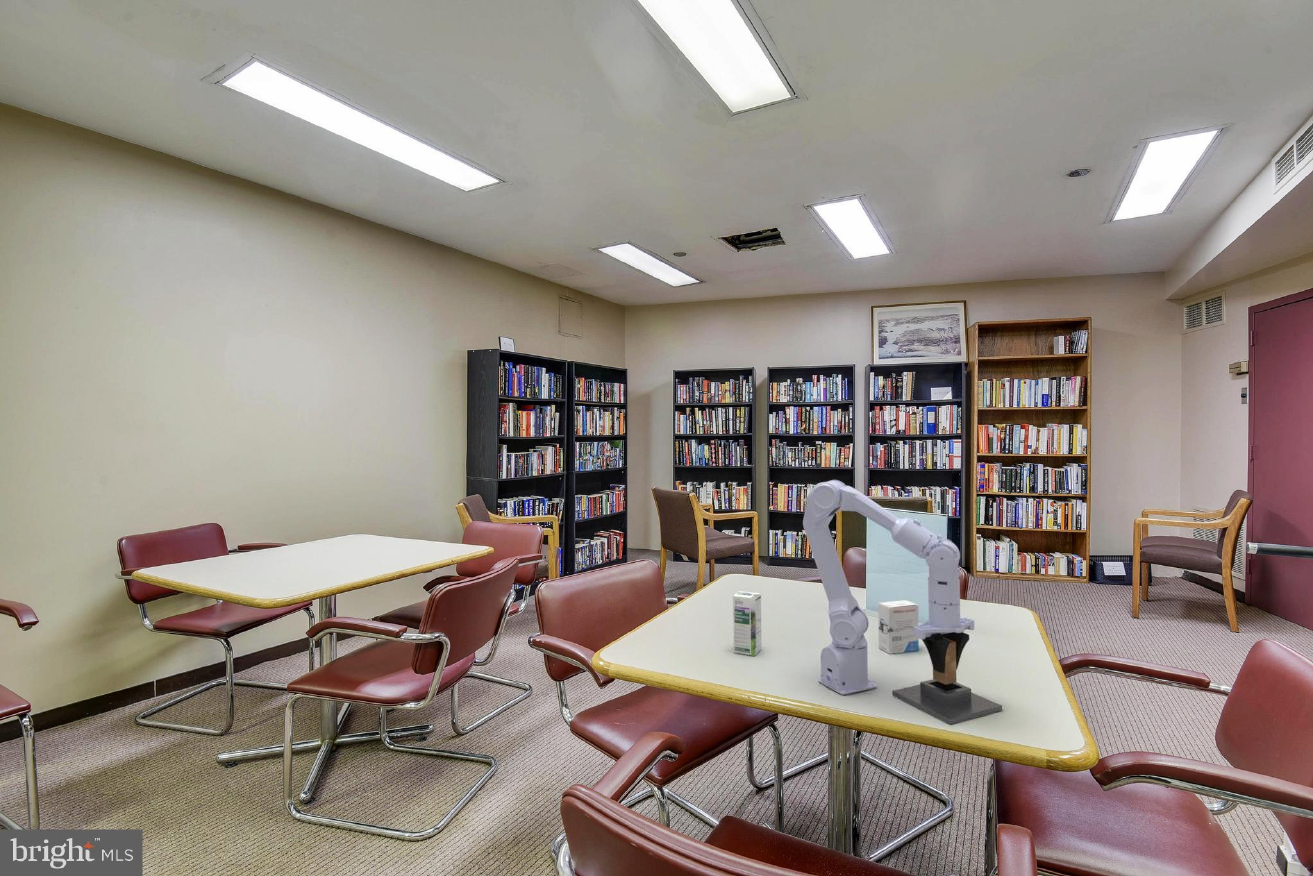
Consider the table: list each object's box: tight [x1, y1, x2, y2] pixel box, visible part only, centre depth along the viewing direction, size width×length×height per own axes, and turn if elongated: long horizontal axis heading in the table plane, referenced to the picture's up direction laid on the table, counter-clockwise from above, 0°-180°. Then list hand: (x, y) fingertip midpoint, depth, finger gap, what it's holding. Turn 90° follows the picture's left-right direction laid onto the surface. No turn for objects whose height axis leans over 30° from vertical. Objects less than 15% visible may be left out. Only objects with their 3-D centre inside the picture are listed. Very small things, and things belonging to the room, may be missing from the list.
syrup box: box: [732, 590, 762, 657], centre depth 150 cm, size 6×6×14 cm
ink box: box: [878, 599, 920, 655], centre depth 150 cm, size 9×5×12 cm, turn 106°
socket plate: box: [891, 678, 1003, 725], centre depth 119 cm, size 14×14×4 cm
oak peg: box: [932, 637, 957, 685], centre depth 119 cm, size 3×3×8 cm
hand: (945, 669), depth 119 cm, fingers closed on oak peg, 3 cm apart
